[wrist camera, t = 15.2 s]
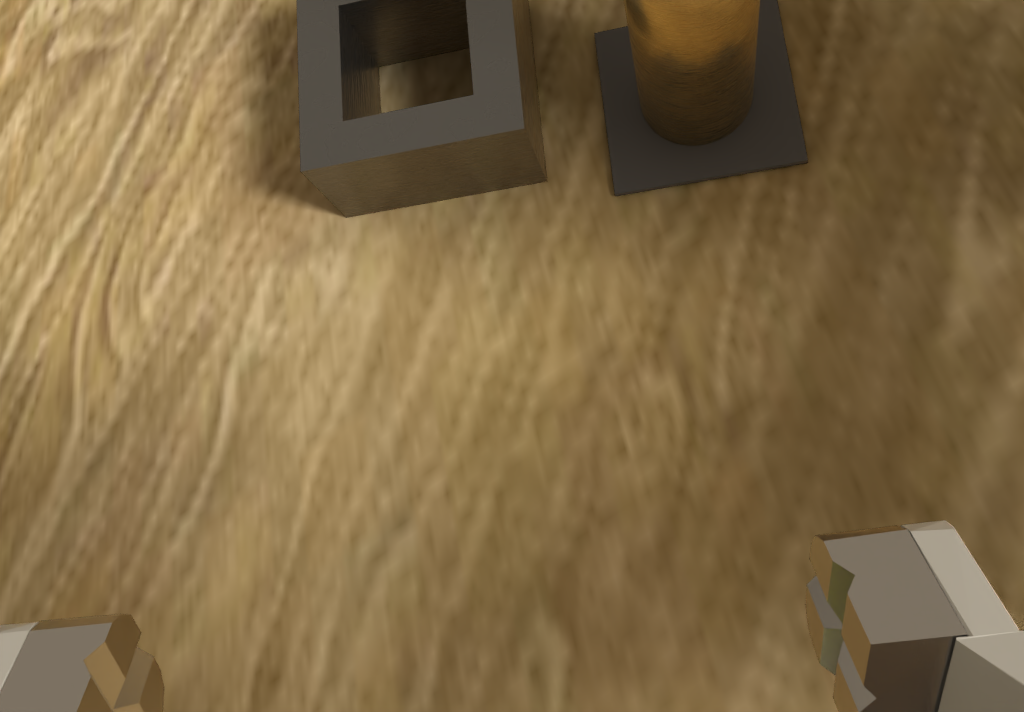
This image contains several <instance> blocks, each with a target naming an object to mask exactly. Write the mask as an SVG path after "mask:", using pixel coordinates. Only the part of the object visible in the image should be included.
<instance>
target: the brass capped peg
mask: <svg viewBox="0 0 1024 712" xmlns="http://www.w3.org/2000/svg"><path fill="white" fill-rule="evenodd" d="M624 4H625V11H626V17H627V24H628V30H629V37H630V43H631V50H632V56H633V63H634V69H635V75H636V82H637V88H638V95H639V101H640V107H641V112H642V114H643V117H644V119H645V121H646V122H647V124H648V125H649V127H650V128H651V129H652V130H653V131H654V132H655V133H656V134H658V135H659V136H660V137H662V138H664V139H666V140H667V141H670V142H673V143H676V144H680V145H687V146H697V145H705V144H709V143H712V142H715V141H718V140H720V139H722V138H724V137H726V136H727V135H729V134H730V133H732V132H733V131H734V130H735V129H736V128H737V127H738V126H739V125H740V124H741V123H742V122H743V120H744V119H745V117H746V116H747V114H748V112H749V110H750V107H751V104H752V99H753V89H754V75H755V61H756V48H757V34H758V21H759V7H760V0H624Z"/></svg>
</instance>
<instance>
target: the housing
mask: <svg viewBox="0 0 1024 712" xmlns="http://www.w3.org/2000/svg"><path fill="white" fill-rule="evenodd" d="M297 36H298V80H299V123H300V166H301V173H302V174H303V175H304V176H305V177H306V178H307V179H308V180H309V181H310V182H311V183H312V184H313V185H314V186H315V187H316V188H317V189H318V190H319V191H320V192H321V193H322V194H323V195H324V196H325V197H326V198H327V199H328V200H329V201H330V202H331V203H332V204H333V205H334V206H335V207H336V208H337V209H338V210H339V211H340V212H341V213H342V214H343V215H344V216H345V217H346V218H347V217H353V216H358V215H364V214H369V213H375V212H380V211H386V210H391V209H397V208H402V207H408V206H413V205H419V204H424V203H430V202H436V201H441V200H447V199H452V198H458V197H463V196H469V195H474V194H480V193H485V192H491V191H496V190H502V189H507V188H513V187H518V186H524V185H529V184H535V183H541V182H546V181H547V175H546V165H545V156H544V146H543V137H542V127H541V118H540V108H539V98H538V89H537V79H536V70H535V60H534V51H533V41H532V32H531V22H530V13H529V3H528V0H297ZM465 48H470V58H471V70H472V83H473V95H470V96H465V97H460V98H456V99H451V100H446V101H441V102H436V103H431V104H426V105H421V106H416V107H411V108H406V109H401V110H396V111H391V112H386V113H381V105H380V85H379V67H381V66H385V65H390V64H395V63H399V62H404V61H409V60H414V59H418V58H423V57H428V56H432V55H437V54H442V53H446V52H451V51H456V50H461V49H465Z"/></svg>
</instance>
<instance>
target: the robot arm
mask: <svg viewBox="0 0 1024 712" xmlns="http://www.w3.org/2000/svg"><path fill="white" fill-rule="evenodd" d="M809 559H810V561H811V564H812V566H813V568H814V571H815V573H816V576H815V577H814V578H813V579H812V580H811V581H810V582H809V583H808V584H807V588H806V604H805V605H806V614H807V622H808V629H809V632H810V636H811V640H812V643H813V647H814V649H815V652H816V655H817V657H818V660H819V663H820V664H821V665H822V666H823V667H825V668H826V669H827V670H829V671H830V672H831V673H833V674H834V675H835V684H834V692H833V699H834V701H835V704H836V706H837V709H838V711H839V712H1024V630H1023V631H1020V630H1019V628H1018V627H1017V625H1016V623H1015V622H1014V620H1013V619H1012V617H1011V616H1010V614H1009V612H1008V611H1007V609H1006V608H1005V606H1004V605H1003V603H1002V602H1001V600H1000V598H999V597H998V595H997V594H996V592H995V591H994V589H993V587H992V586H991V584H990V583H989V581H988V580H987V578H986V576H985V575H984V573H983V572H982V570H981V569H980V567H979V565H978V564H977V562H976V561H975V559H974V558H973V556H972V554H971V553H970V551H969V550H968V548H967V547H966V545H965V543H964V542H963V540H962V539H961V537H960V536H959V534H958V532H957V531H956V529H955V528H954V526H953V525H951V524H950V523H948V522H947V521H946V520H942V521H933V522H924V523H916V524H907V525H901V526H897V525H896V526H888V527H880V528H872V529H863V530H855V531H847V532H839V533H831V534H823V535H815V537H814V539H813V541H812V543H811V549H810V558H809ZM140 636H141V631H140V629H139V627H138V626H137V624H136V622H135V621H134V619H133V617H132V615H129V614H114V615H103V616H91V617H79V618H68V619H56V620H44V621H39V622H28V623H17V624H6V625H0V712H163V705H164V684H163V679H162V675H161V670H160V668H159V666H158V664H157V662H156V660H155V658H154V657H153V656H152V655H150V654H148V653H146V652H145V651H143V650H141V649H140V648H138V647H137V644H138V641H139V639H140Z"/></svg>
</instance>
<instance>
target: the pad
mask: <svg viewBox="0 0 1024 712" xmlns="http://www.w3.org/2000/svg"><path fill="white" fill-rule="evenodd" d="M594 34H595V42H596V50H597V57H598V65H599V73H600V81H601V89H602V97H603V105H604V113H605V121H606V128H607V136H608V144H609V152H610V160H611V168H612V176H613V184H614V192H615V196H620V195H626V194H632V193H637V192H643V191H649V190H655V189H660V188H666V187H672V186H677V185H683V184H689V183H695V182H700V181H706V180H712V179H717V178H723V177H729V176H735V175H740V174H746V173H752V172H757V171H763V170H769V169H774V168H780V167H786V166H792V165H797V164H803V163H807V162H808V158H807V153H806V148H805V143H804V138H803V132H802V127H801V122H800V117H799V112H798V106H797V101H796V96H795V91H794V86H793V81H792V75H791V70H790V65H789V60H788V55H787V49H786V44H785V39H784V34H783V29H782V23H781V18H780V13H779V8H778V3H777V0H760V7H759V21H758V34H757V48H756V61H755V75H754V89H753V99H752V104H751V107H750V110H749V112H748V114H747V116H746V117H745V119H744V120H743V122H742V123H741V124H740V125H739V126H738V127H737V128H736V129H735V130H734V131H733V132H732V133H730V134H729V135H727V136H726V137H724V138H722V139H720V140H718V141H715V142H712V143H709V144H705V145H697V146H687V145H680V144H676V143H673V142H670V141H667V140H666V139H664V138H662V137H660V136H659V135H658V134H656V133H655V132H654V131H653V130H652V129H651V128H650V127H649V125H648V124H647V122H646V121H645V119H644V117H643V114H642V112H641V107H640V101H639V95H638V88H637V82H636V75H635V69H634V63H633V56H632V50H631V43H630V37H629V30H628V26H626V27H622V28H617V29H612V30H607V31H603V32H598V33H594Z"/></svg>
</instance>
